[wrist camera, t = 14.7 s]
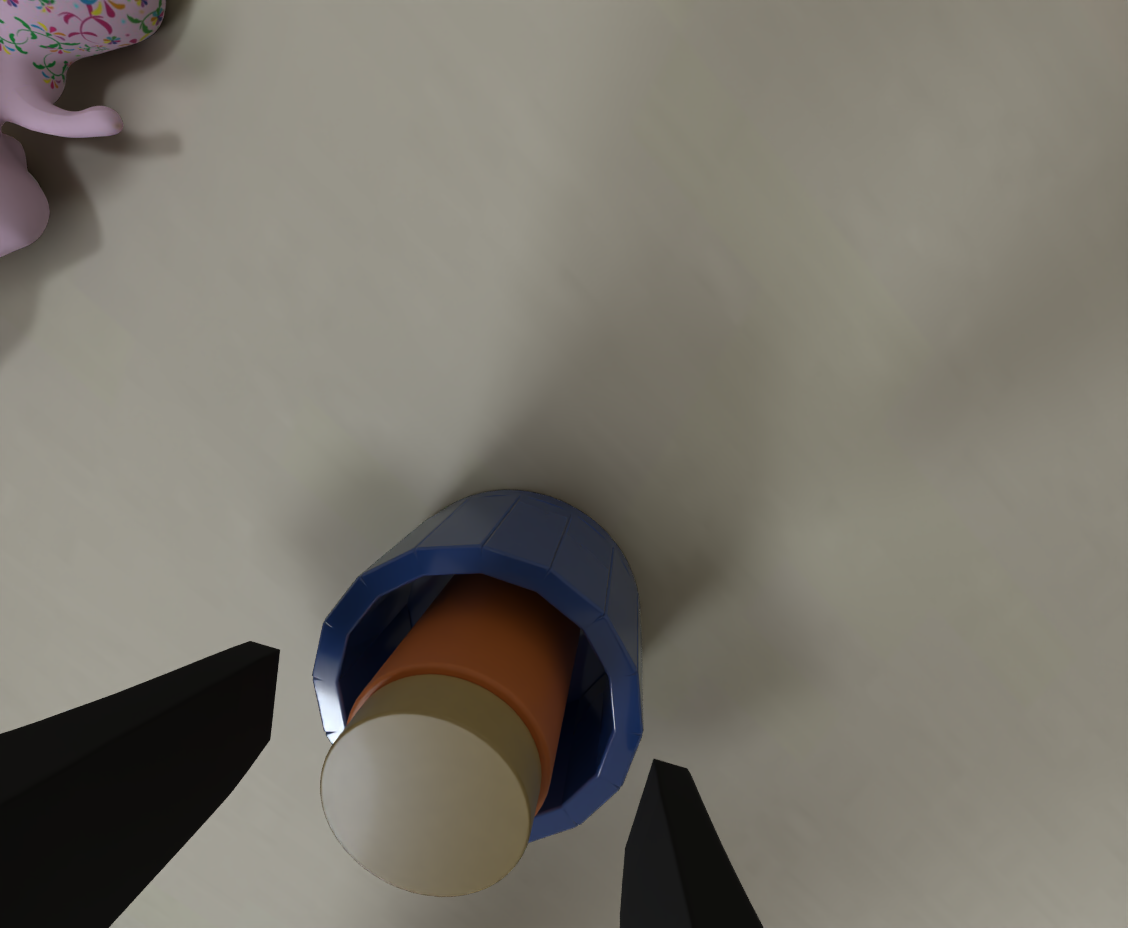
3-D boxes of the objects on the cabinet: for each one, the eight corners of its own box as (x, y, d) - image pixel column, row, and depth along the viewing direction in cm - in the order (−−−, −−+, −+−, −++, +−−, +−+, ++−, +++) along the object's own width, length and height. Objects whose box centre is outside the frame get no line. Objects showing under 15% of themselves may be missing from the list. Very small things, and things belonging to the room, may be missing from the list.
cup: (683, 666, 15) (701, 787, 11) (473, 747, 16) (418, 881, 12) (565, 445, 14) (537, 486, 10) (354, 552, 15) (253, 627, 11)
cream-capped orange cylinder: (606, 650, 14) (583, 869, 8) (485, 699, 15) (387, 930, 9) (538, 527, 14) (463, 667, 8) (417, 584, 15) (266, 750, 9)
